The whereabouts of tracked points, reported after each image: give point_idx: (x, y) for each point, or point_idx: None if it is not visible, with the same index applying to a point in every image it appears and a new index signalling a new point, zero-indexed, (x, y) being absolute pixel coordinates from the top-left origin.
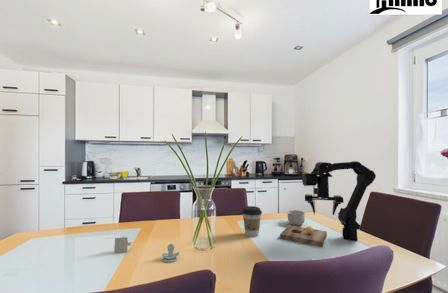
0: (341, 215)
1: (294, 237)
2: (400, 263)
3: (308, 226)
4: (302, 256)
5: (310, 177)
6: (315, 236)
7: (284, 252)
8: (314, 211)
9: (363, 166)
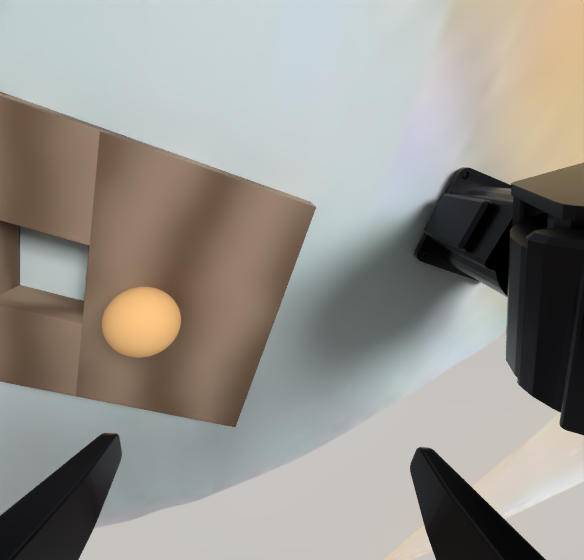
0: (574, 367)
1: (54, 388)
2: (510, 466)
3: (118, 344)
4: (139, 499)
5: None
6: (201, 351)
7: None
8: (82, 531)
9: None
